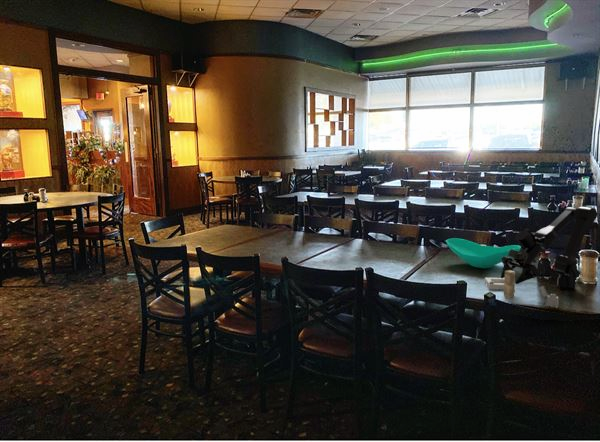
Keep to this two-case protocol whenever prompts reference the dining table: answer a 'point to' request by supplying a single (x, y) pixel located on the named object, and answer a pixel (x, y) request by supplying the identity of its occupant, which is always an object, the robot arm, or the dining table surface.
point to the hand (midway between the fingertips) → (508, 280)
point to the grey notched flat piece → (550, 298)
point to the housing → (495, 283)
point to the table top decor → (479, 252)
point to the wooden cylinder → (509, 283)
